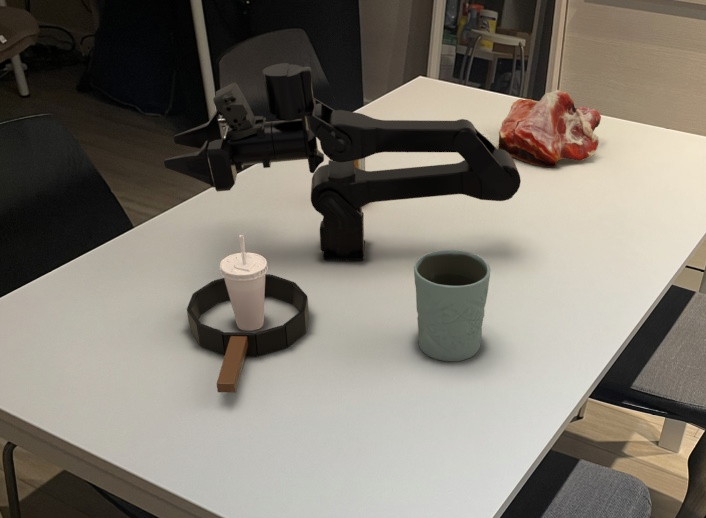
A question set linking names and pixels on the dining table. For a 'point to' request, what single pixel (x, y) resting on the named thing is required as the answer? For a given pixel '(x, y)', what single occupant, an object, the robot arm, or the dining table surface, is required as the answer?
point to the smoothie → (246, 286)
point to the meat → (549, 130)
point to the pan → (242, 342)
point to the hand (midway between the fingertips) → (169, 151)
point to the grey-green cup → (450, 303)
